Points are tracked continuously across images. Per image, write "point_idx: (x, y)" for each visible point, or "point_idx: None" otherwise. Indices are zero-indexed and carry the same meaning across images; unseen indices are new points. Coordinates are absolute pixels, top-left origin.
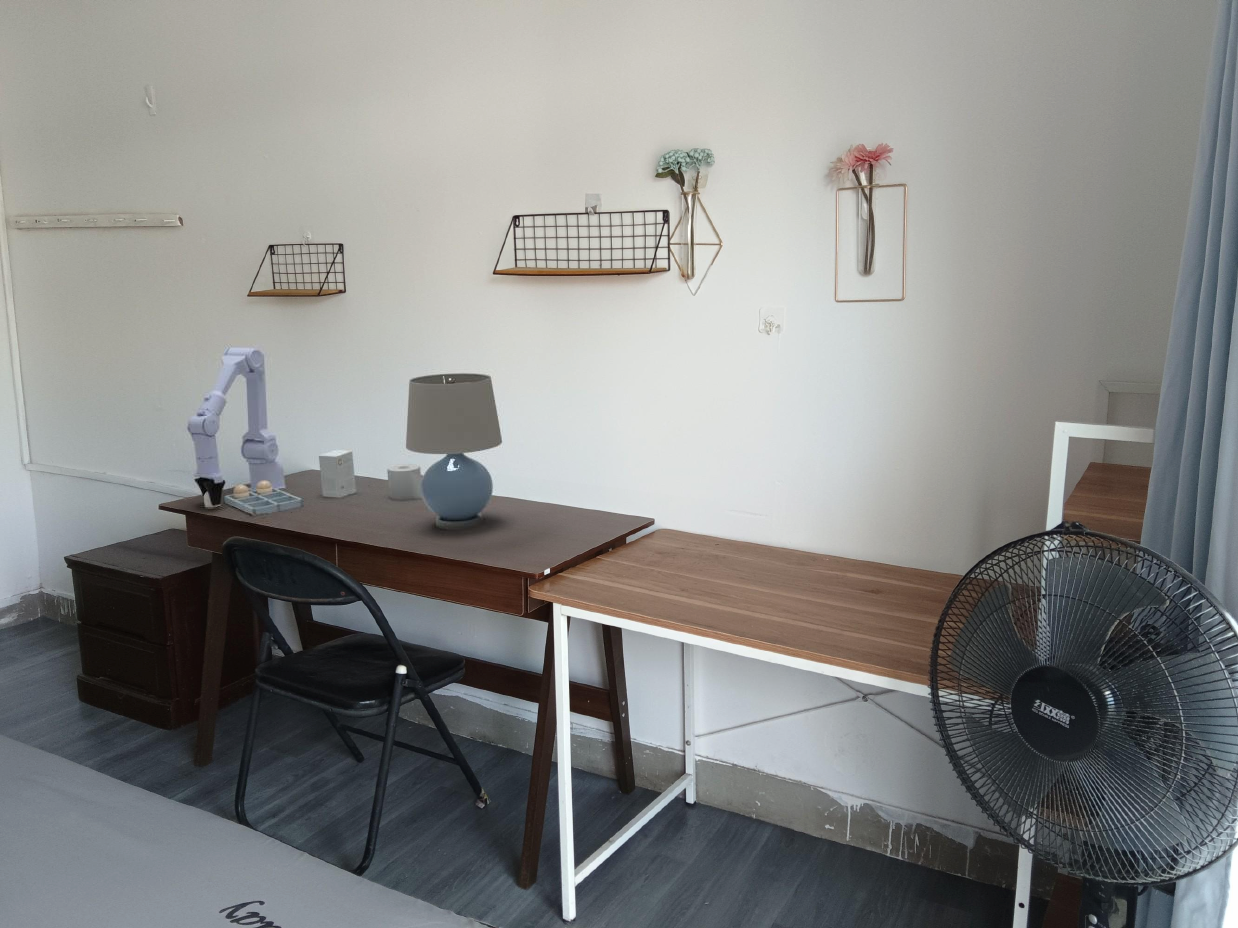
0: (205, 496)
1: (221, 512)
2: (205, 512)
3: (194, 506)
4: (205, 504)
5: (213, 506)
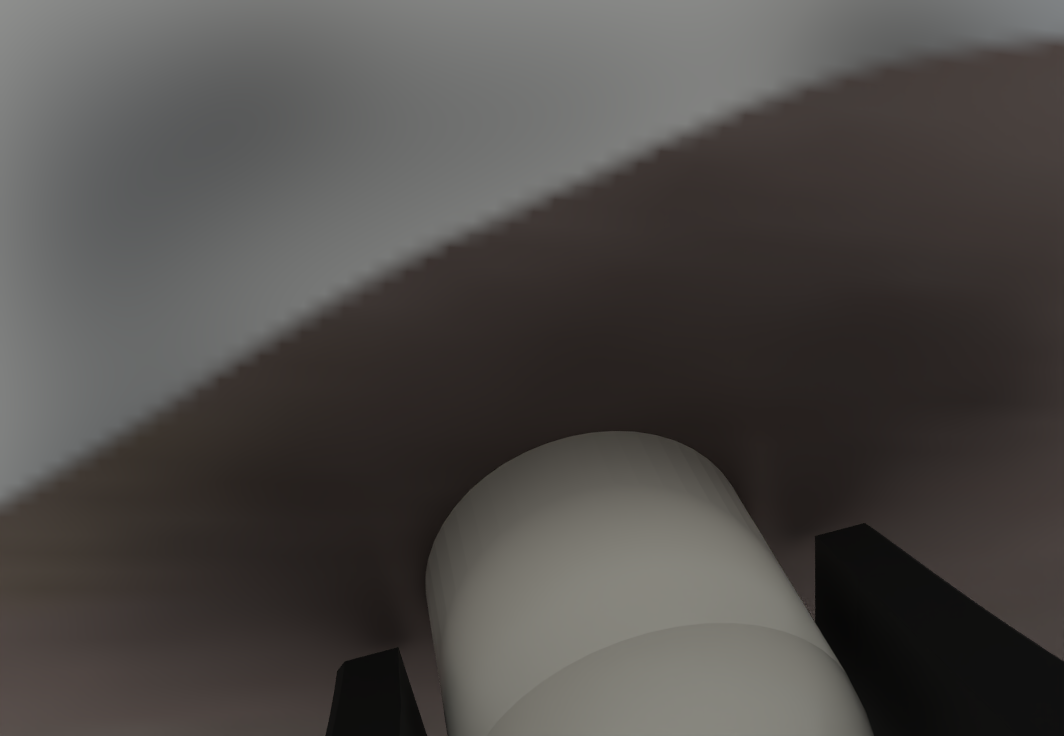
0: (612, 729)
1: (61, 697)
2: (265, 418)
3: (1044, 240)
4: (573, 527)
5: (433, 632)
